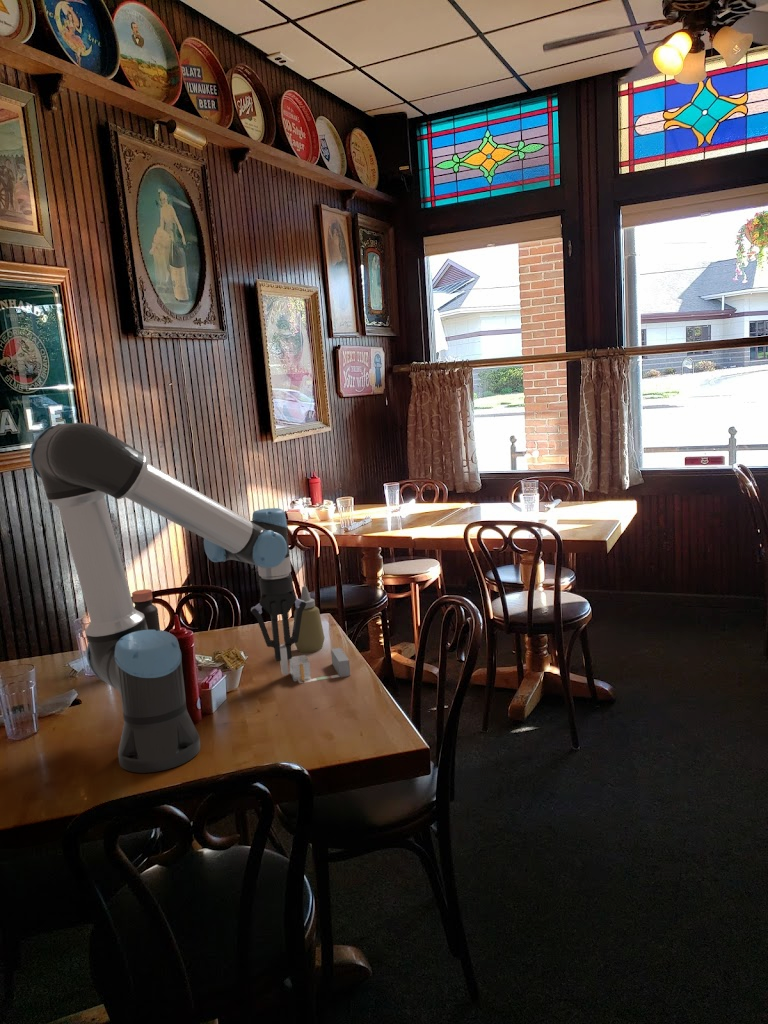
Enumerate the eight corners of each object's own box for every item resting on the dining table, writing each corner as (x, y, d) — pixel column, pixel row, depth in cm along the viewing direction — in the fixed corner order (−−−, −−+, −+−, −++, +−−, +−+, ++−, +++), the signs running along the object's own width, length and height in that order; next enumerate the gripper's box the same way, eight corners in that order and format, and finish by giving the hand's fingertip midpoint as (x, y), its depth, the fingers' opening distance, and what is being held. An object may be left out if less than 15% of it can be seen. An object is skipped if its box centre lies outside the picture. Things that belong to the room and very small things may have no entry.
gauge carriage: (311, 680, 177) (310, 664, 176) (294, 683, 176) (293, 666, 175) (307, 670, 184) (305, 654, 183) (290, 673, 183) (289, 657, 182)
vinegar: (132, 667, 200) (123, 593, 197) (155, 659, 205) (146, 587, 202) (146, 671, 196) (137, 596, 193) (169, 663, 201) (160, 590, 198)
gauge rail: (350, 681, 178) (349, 660, 178) (287, 691, 175) (285, 670, 174) (342, 667, 188) (340, 647, 187) (281, 677, 184) (279, 656, 183)
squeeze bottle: (319, 658, 196) (313, 590, 193) (290, 657, 198) (283, 590, 196) (330, 648, 204) (324, 583, 201) (302, 647, 206) (296, 583, 203)
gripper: (300, 568, 181) (309, 663, 184) (245, 575, 178) (255, 672, 181) (305, 574, 174) (315, 673, 177) (248, 582, 171) (258, 682, 174)
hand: (285, 672), depth 179 cm, fingers closed
